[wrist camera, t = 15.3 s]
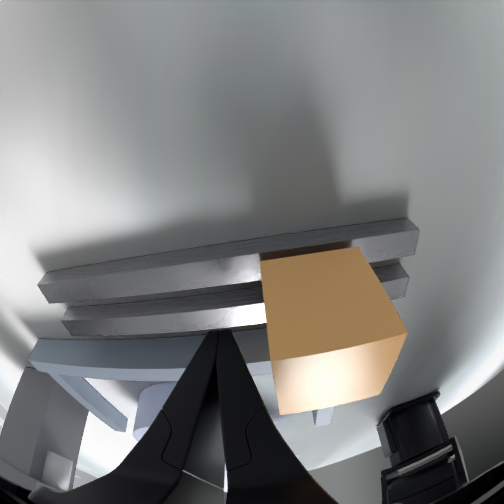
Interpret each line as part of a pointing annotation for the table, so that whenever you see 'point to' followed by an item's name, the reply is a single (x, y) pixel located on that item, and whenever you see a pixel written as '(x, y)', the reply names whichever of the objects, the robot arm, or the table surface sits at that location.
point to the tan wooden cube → (328, 329)
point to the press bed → (94, 397)
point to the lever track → (211, 280)
